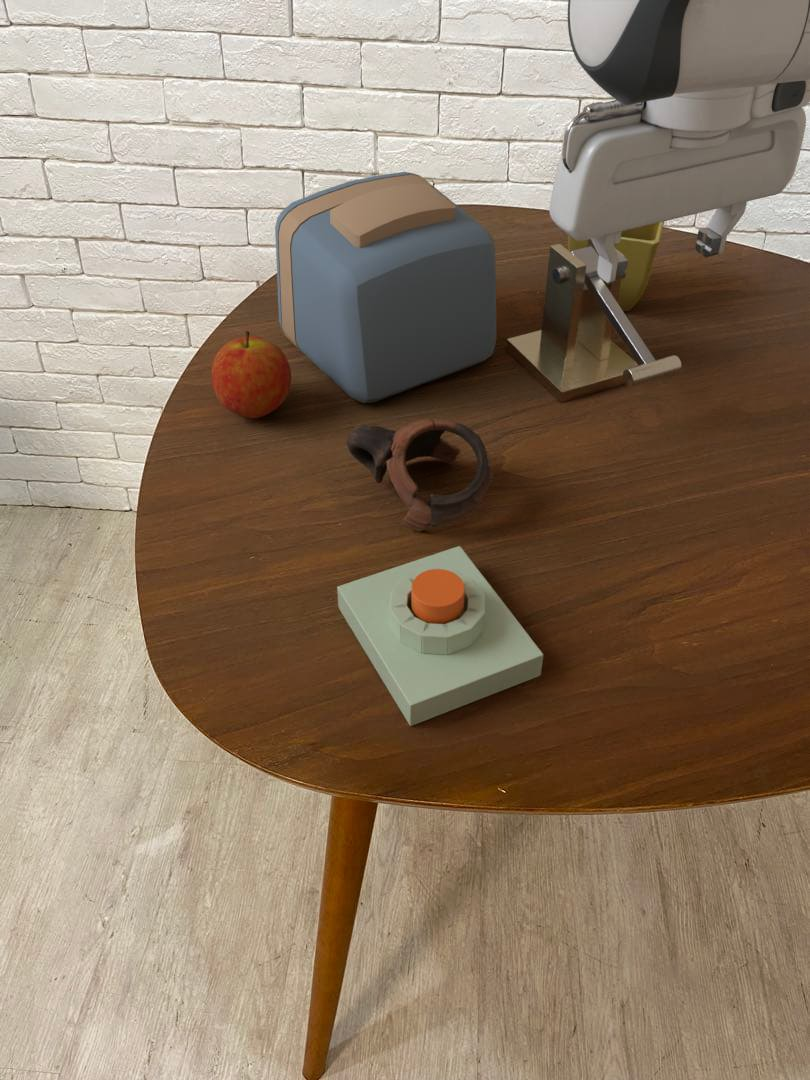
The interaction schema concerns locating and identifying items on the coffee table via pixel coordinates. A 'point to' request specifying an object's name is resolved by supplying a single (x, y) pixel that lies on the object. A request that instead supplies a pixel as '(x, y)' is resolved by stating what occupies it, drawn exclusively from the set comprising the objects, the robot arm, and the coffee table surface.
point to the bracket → (572, 335)
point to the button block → (438, 639)
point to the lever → (624, 327)
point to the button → (437, 596)
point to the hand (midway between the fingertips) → (660, 265)
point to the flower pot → (632, 260)
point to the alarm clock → (385, 284)
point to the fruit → (251, 376)
